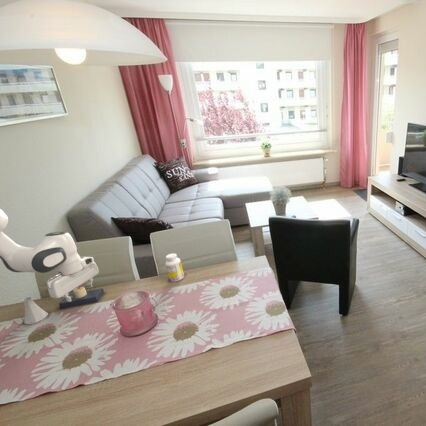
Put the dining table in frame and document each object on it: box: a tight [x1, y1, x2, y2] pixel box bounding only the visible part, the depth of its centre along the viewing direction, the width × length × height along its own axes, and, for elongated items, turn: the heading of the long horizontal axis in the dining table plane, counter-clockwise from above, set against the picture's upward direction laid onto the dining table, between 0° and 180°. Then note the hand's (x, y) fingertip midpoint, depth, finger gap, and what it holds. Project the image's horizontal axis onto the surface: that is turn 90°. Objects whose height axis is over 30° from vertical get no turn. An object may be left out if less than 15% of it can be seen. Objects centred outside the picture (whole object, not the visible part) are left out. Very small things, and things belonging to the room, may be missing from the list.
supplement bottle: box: [164, 253, 185, 282], centre depth 142 cm, size 7×7×13 cm
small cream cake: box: [72, 285, 87, 298], centre depth 129 cm, size 4×4×4 cm
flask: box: [21, 296, 49, 325], centre depth 119 cm, size 7×7×10 cm
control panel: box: [58, 287, 105, 309], centre depth 130 cm, size 14×7×3 cm, turn 105°
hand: (80, 294), depth 129 cm, fingers open, 8 cm apart
